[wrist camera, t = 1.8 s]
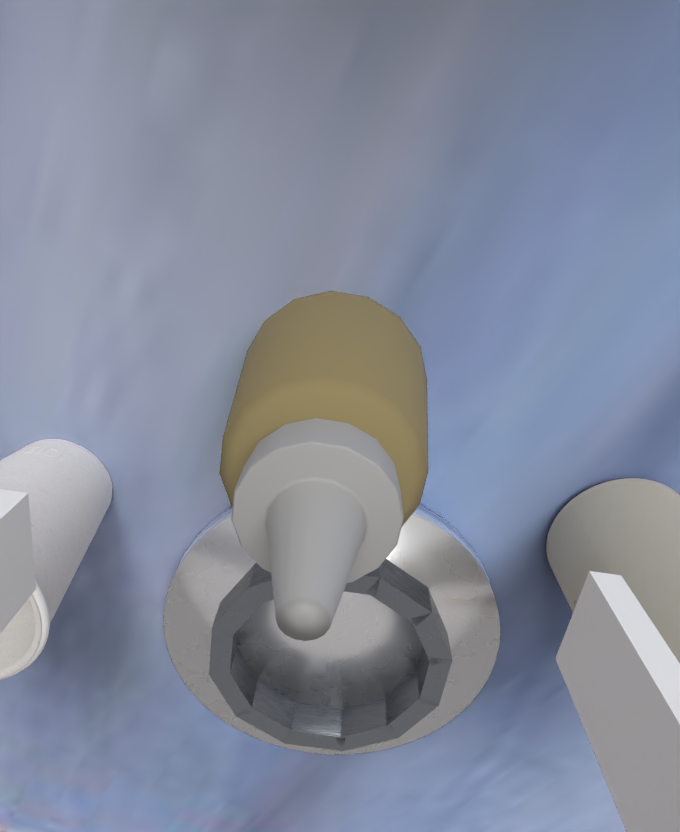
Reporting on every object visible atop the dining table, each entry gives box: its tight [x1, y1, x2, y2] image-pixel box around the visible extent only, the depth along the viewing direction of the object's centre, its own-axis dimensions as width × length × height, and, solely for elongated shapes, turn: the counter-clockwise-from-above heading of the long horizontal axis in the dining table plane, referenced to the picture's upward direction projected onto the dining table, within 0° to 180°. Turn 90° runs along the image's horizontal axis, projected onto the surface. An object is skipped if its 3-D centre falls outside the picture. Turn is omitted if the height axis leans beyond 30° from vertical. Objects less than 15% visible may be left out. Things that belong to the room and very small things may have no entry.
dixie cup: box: [0, 439, 113, 680], centre depth 27 cm, size 8×8×10 cm
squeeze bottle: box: [220, 291, 428, 641], centre depth 20 cm, size 8×8×18 cm
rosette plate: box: [163, 505, 500, 754], centre depth 33 cm, size 20×20×4 cm
